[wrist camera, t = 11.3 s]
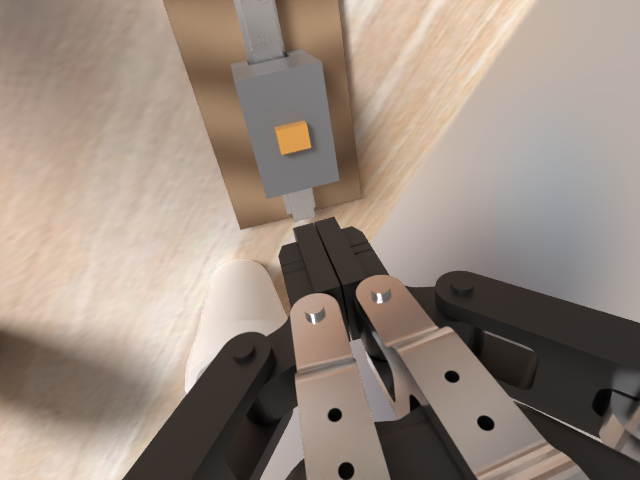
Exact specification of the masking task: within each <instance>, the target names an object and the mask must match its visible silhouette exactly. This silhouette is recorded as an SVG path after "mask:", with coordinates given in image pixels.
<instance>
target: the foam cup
mask: <svg viewBox="0 0 640 480" xmlns="http://www.w3.org/2000/svg"><path fill="white" fill-rule="evenodd" d="M287 319H288V318H287V316H286V314H285V311H284V309H283V306H282V304H281V302H280V299H279V297H278V294H277V292H276V290H275V287H274V285H273V282H272V280H271V278H270V276H269V274H268V272H267V271H266V269H265V268H264V267H263V266H262V265H261V264H260V263H257V262H255V261H252V260H250V259H233V260H231V261H228V262H225V263H223V264H221V265H220V266H219V267H218V268H217V269H216V270H215V271H214V272H213V273H212V277H211V280H210V283H209V286H208V290H207V294H206V298H205V302H204V307H203V311H202V315H201V319H200V323H199V327H198V331H197V335H196V339H195V343H194V345H193V347H192V350H191V353H190V356H189V359H188V362H187V366H186V378H185V392H186V394H188V392H189V391H190V390H191V388H192V387H193V386H194V384H195V383H196V382H197V380H198V379H199V378H200V376H201V375H202V374H203V372H204V371H205V370H206V368H207V367H208V366H209V364H210V363H211V362H212V360H213V359H214V358H215V357H216V355H217V354H218V353H219V351H220V350H221V349H222V347H223V346H224V345H225V344H226V343H227V342H228V341H229V340H230V339H232V338H233V337H235V336H237V335H239V334H241V333H245V332H259V333H262V334H263V335H265V336H267V335H269V334H271V333H272V332H274V331H276V330H277V329H279V328H280V327H281V326H282V325H283V324H284V323H285V322H286V321H287Z"/></svg>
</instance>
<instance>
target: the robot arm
mask: <svg viewBox="0 0 640 480" xmlns="http://www.w3.org/2000/svg"><path fill="white" fill-rule="evenodd" d="M293 231H294V235H295V239H296V242H294V243H291V244H287V245H284V246H282V248H281V251H280V253H279V260H280V264H281V268H282V272H283V276H284V280H285V284H286V289H287V293H288V297H289V301H290V305H291V312H290V315H289V317H288V319H287V321H286V322H285V323H284V324H283V325H282V326H281V327H280V328H279V329H277V330H276V331H274V332H272V333H271V334H269V335H267V336H265V335H263V334H262V333H259V332H245V333H241V334H239V335H237V336H235V337H233V338H232V339H230V340H229V341H228V342H227V343H226V344H225V345H224V346H223V347H222V349H221V350H220V351H219V353H218V354H217V355H216V357H215V358H214V359H213V360H212V362H211V363H210V364H209V366H208V367H207V368H206V370H205V371H204V372H203V374H202V375H201V376H200V378H199V379H198V380H197V382H196V383H195V384H194V386H193V387H192V388H191V390H190V391H189V392H188V394H187V395H186V396H185V397H184V399H183V400H182V401H181V403H180V404H179V405H178V407H177V408H176V409H175V411H174V412H173V413H172V415H171V416H170V417H169V419H168V420H167V421H166V423H165V424H164V425H163V427H162V428H161V429H160V430H159V432H158V433H157V434H156V436H155V437H154V438H153V440H152V441H151V442H150V444H149V445H148V446H147V448H146V449H145V450H144V452H143V453H142V454H141V456H140V457H139V458H138V460H137V461H136V462H135V464H134V465H133V466H132V467H131V469H130V470H129V471H128V473H127V474H126V475H125V477H124V478H123V479H122V480H260V478H261V476H262V474H263V472H264V470H265V468H266V466H267V464H268V462H269V460H270V458H271V456H272V454H273V452H274V450H275V448H276V446H277V444H278V443H279V440H280V439H281V437H282V435H283V433H284V431H285V429H286V427H287V425H288V423H289V421H290V419H291V417H292V414H293V409H294V408H295V407H297V406H298V409H299V418H300V426H301V435H302V442H303V451H304V459H303V460H302V461H300V462H299V463H298V464H297V466H296V467H295V468H294V469H293V470H292V471H291V473H290V474H289V475H288V477H287V478H286V479H285V480H640V323H638V322H635V321H632V320H628V319H625V318H621V317H618V316H615V315H612V314H608V313H605V312H602V311H598V310H595V309H591V308H588V307H585V306H581V305H578V304H575V303H572V302H568V301H565V300H562V299H558V298H555V297H552V296H548V295H545V294H541V293H538V292H535V291H532V290H528V289H525V288H522V287H518V286H515V285H512V284H508V283H504V282H502V281H498V280H495V279H492V278H488V277H484V276H482V275H478V274H475V273H471V272H467V271H453V272H449V273H446V274H444V275H442V276H441V277H440V278H439V279H438V280H437V282H436V285H435V287H417V288H416V287H408V286H404V285H403V283H402V282H401V281H400V280H398V279H397V278H395V277H392V276H390V275H389V274H388V273H387V271H386V269H385V268H384V266H383V264H382V263H381V261H380V260H379V258H378V256H377V255H376V253H375V251H374V250H373V249H372V247H371V245H370V243H368V240H367V239H366V237H365V235H364V234H363V232H361V231H359V230H358V229H356V228H354V227H352V226H351V227H348V228H344V229H341V228H340V226H339V225H338V223H337V221H336V219H335V217H332V218H328V219H324V220H321V221H317V222H314V224H313V223H310V224H306V225H303V226H299V227H295V228H293ZM485 331H488V332H491V333H493V334H496V335H499V336H501V337H504V338H506V339H509V340H512V341H514V342H517V343H520V344H522V345H525V346H527V347H529V348H531V349H532V350H533V351H534V352H533V351H530V350H527V349H525V348H522V347H520V346H517V345H515V344H512V343H509V342H507V341H504V340H502V339H499V338H496V337H494V336H491V335H489V334H486V333H485ZM349 332H350V334H349ZM350 335H351V337H352V340H356V339H360V338H361V340H362V342H363V345H364V347H365V354H366V359H367V361H368V363H369V365H370V367H371V368H372V371H373V372H374V374H375V376H376V378H377V380H378V382H379V384H380V386H381V388H382V390H383V391H384V393H385V395H386V397H387V399H388V401H389V403H390V405H391V407H392V409H393V411H394V413H395V416H396V419H397V420H396V421H384V422H374V421H373V417H372V414H371V410H370V407H369V403H368V400H367V397H366V393H365V390H364V386H363V383H362V379H361V376H360V372H359V369H358V366H357V362H356V360H355V359H354V357H353V354H352V350H351V347H350V343H349V342H350V341H351V340H350ZM510 397H511V398H514V399H516V400H518V401H520V402H522V403H524V404H526V405H529V406H531V407H533V408H535V409H537V410H539V411H542V412H544V413H546V414H548V415H550V416H552V417H555V418H557V419H559V420H561V421H563V422H565V423H568V424H570V425H572V426H574V427H576V428H578V429H581V430H583V431H585V432H587V433H589V434H591V435H593V436H596V437H598V438H600V439H601V440H602V442H603V443H601V442H599V441H597V440H595V439H593V438H591V437H589V436H586V435H585V434H582V433H581V432H578V431H577V430H574V429H573V428H570V427H568V426H566V425H564V424H562V423H560V422H558V421H556V420H554V419H552V418H550V417H548V416H546V415H544V414H542V413H540V412H538V411H536V410H534V409H532V408H530V407H528V406H526V405H523V404H520V403H518V402H515V401H512V399H511V398H510Z"/></svg>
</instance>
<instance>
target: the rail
mask: <svg viewBox="0 0 640 480" xmlns="http://www.w3.org/2000/svg"><path fill="white" fill-rule="evenodd" d="M234 4H235V8H236V12H237V16H238V20H239V24H240V28H241V32H242V36H243V40H244V44H245V48H246V52H247V56H248V60H249V64H250V65H253V64H258V63H262V62H267V61H271V60H276V59H280V58H285V57H286V54H285V49H284V44H283V39H282V34H281V29H280V24H279V19H278V14H277V9H276V4H275V0H234ZM282 196H283V200H284V204H285V208H286V212H287V214H292V217H293V220H294V222H297V221H300V220H304V219H308V218H312V217H315V212H314V207H316V206H315V201H314V196H313V190H312V188H308V189H304V190H300V191H297V192H293V193H289V194H285V195H282Z"/></svg>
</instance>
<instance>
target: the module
mask: <svg viewBox="0 0 640 480" xmlns="http://www.w3.org/2000/svg"><path fill="white" fill-rule="evenodd" d="M285 54H286V57H285V58H280V59H276V60H271V61H267V62H262V63H258V64H253V65H248V63H247V61H242V62H237V63H233V64H231V68H232V74H233V79H234V83H235V87H236V90H237V94H238V98H239V101H240V105H241V108H242V112H243V115H244V119H245V123H246V126H247V130H248V133H249V137H250V141H251V144H252V148H253V151H254V155H255V159H256V162H257V166H258V169H259V173H260V177H261V180H262V184H263V187H264V191H265V194H266V198H267V199H269V198H273V197H277V196H281V195H285V194H289V193H293V192H297V191H300V190H304V189H308V188H312V187H316V186H320V185H324V184H328V183H332V182H336V181H340V180H339V173H338V167H337V160H336V153H335V147H334V140H333V134H332V127H331V120H330V114H329V107H328V100H327V94H326V87H325V80H324V74H323V67H322V61H320V60H318V59H317V58H315V57H313V56H312V55H310V54H308V53H307V52H305V51H304V50H302V49H296V50H292V51H287V52H285Z"/></svg>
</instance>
